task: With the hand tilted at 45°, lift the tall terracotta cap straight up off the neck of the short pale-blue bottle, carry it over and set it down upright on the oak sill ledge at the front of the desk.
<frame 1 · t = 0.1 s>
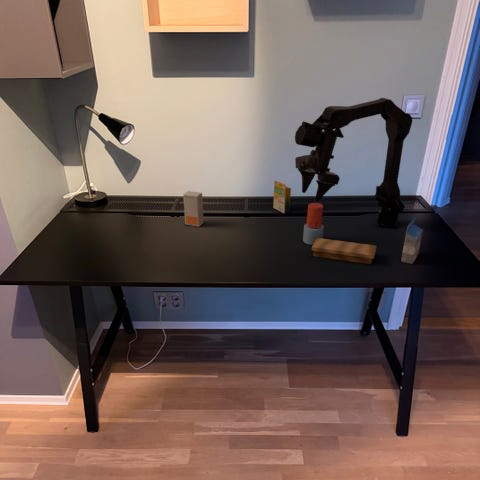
hand: (309, 197, 155), 15 cm above the table, tool pointing down, fingers open, 9 cm apart
ledge: (343, 255, 152), on the table
cosmetic box: (194, 224, 176), on the table
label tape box: (409, 258, 151), on the table
cap: (314, 224, 159), point 6 cm above the table, touching bottle
bottle: (312, 240, 162), on the table
crayon box: (281, 210, 186), on the table
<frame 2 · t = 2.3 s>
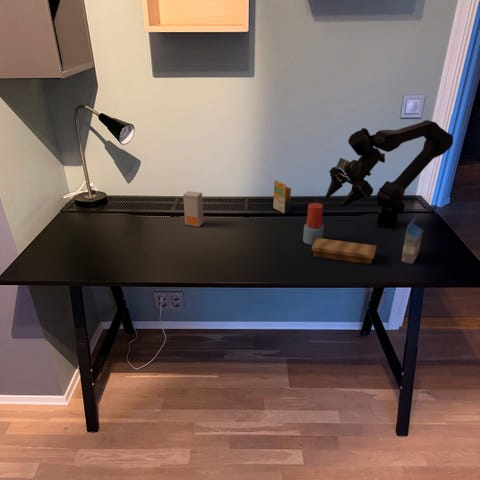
hand: (334, 201, 157), 13 cm above the table, tool tilted 45°, fingers open, 9 cm apart
nothing on the table moved.
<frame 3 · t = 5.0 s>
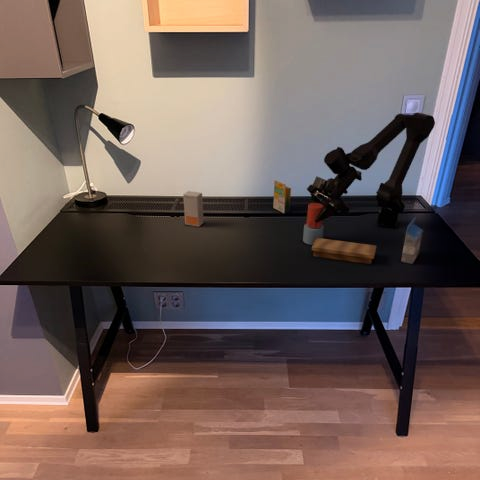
hand: (311, 219, 157), 8 cm above the table, tool tilted 45°, fingers closed on cap, 5 cm apart
cap: (314, 224, 159), point 6 cm above the table, touching bottle, gripper
everything else where it was.
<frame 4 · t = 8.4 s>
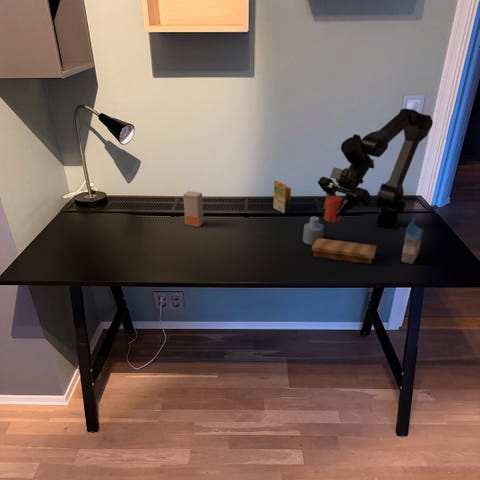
hand: (330, 213, 147), 14 cm above the table, tool tilted 45°, fingers closed on cap, 5 cm apart
cap: (332, 219, 149), point 11 cm above the table, touching gripper
everything else where it was.
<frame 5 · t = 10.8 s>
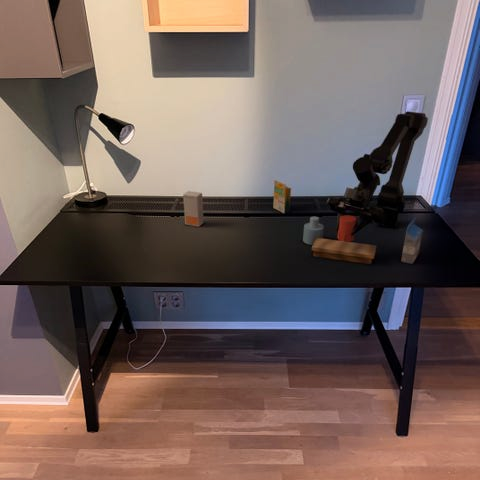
hand: (344, 233, 146), 9 cm above the table, tool tilted 45°, fingers closed on cap, 5 cm apart
cap: (345, 238, 149), point 6 cm above the table, touching gripper
everything else where it was.
when the fingers open (6 cm above the table, at t = 12.1 s): cap stays where it is, resting on ledge.
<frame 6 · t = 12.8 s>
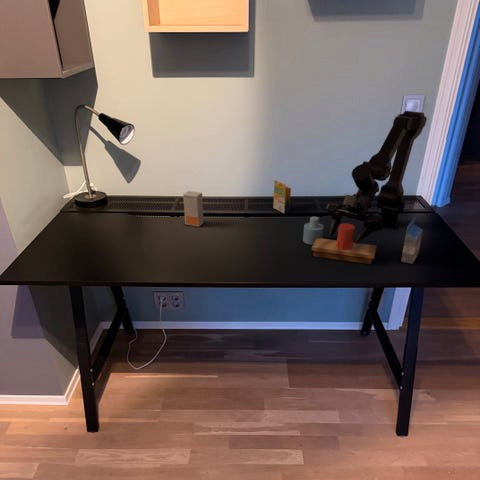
hand: (343, 239, 148), 6 cm above the table, tool tilted 45°, fingers open, 9 cm apart
cap: (344, 246, 150), point 3 cm above the table, touching ledge
everything else where it was.
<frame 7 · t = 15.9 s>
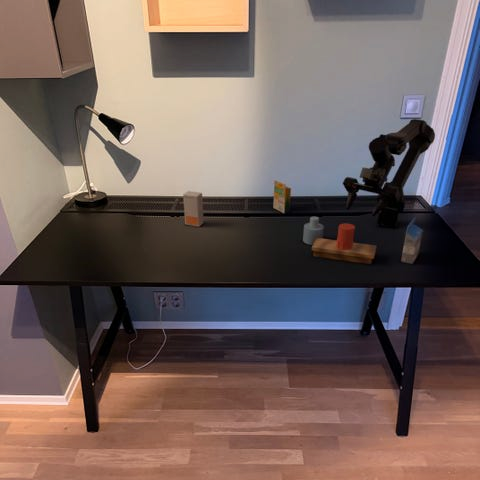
hand: (359, 212, 150), 13 cm above the table, tool tilted 45°, fingers open, 9 cm apart
nothing on the table moved.
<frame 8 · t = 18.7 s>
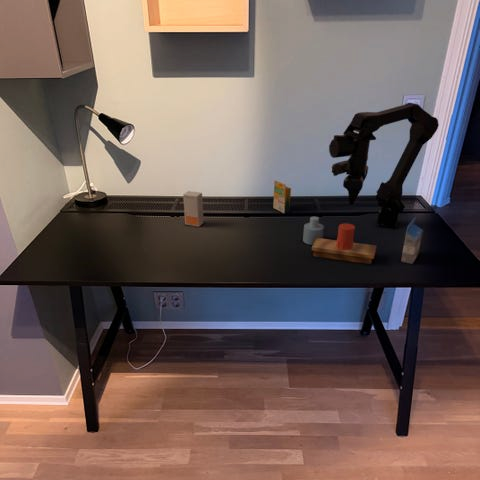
hand: (352, 199, 162), 12 cm above the table, tool pointing down, fingers open, 9 cm apart
nothing on the table moved.
at the end: cap inside the target area on the ledge (0.1 cm from its centre), point 3.5 cm above the ledge's base; cap tilted 0°; the gripper is holding nothing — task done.
